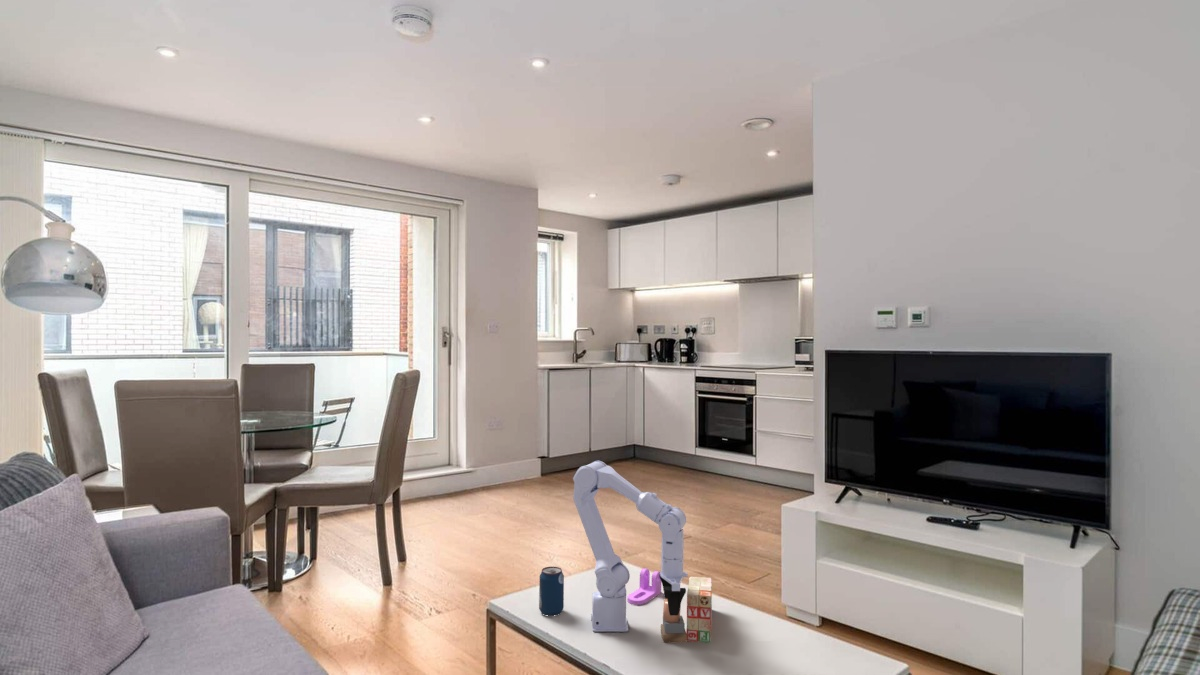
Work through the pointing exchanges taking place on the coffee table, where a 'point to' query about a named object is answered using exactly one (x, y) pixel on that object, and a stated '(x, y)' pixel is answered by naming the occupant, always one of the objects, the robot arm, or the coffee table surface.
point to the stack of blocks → (699, 609)
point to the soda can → (551, 591)
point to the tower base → (673, 637)
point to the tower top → (674, 626)
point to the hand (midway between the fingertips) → (671, 608)
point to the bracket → (646, 588)
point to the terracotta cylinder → (667, 615)
